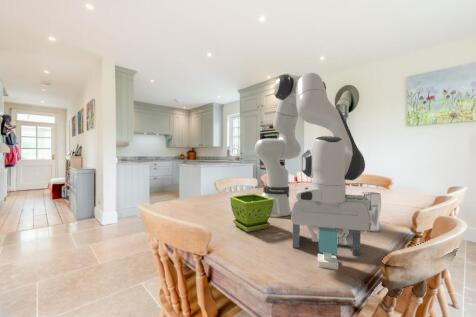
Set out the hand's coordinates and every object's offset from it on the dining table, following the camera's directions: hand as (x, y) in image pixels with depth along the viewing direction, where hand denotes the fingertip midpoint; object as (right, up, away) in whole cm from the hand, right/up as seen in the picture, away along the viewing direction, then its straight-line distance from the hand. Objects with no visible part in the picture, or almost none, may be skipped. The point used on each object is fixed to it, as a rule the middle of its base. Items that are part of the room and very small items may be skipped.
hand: (327, 242), depth 62 cm
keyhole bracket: (+4, -6, +13) cm, 15 cm away
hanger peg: (0, -6, 0) cm, 6 cm away
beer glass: (+30, -6, +29) cm, 42 cm away
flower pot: (-20, -6, +31) cm, 37 cm away
